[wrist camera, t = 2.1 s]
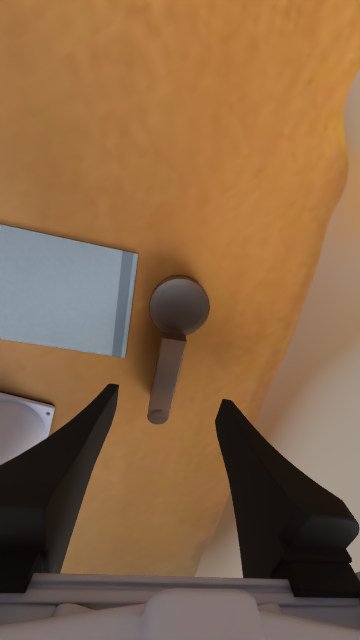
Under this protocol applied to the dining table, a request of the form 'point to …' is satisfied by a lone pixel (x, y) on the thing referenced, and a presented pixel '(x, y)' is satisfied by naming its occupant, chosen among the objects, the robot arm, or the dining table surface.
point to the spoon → (173, 336)
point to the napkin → (65, 292)
